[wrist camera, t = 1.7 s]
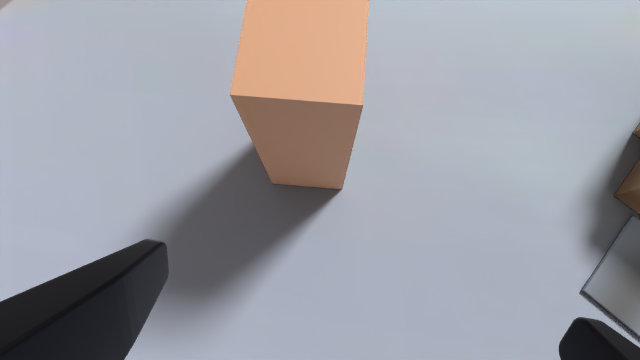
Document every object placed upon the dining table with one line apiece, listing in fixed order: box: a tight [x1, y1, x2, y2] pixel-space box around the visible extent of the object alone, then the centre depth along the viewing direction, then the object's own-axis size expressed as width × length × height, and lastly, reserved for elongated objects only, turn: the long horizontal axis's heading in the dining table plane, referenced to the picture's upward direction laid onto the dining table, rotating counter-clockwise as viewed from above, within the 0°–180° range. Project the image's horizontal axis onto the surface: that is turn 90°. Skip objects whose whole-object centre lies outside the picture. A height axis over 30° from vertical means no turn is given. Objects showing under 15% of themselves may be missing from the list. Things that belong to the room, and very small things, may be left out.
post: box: [230, 0, 369, 189], centre depth 17 cm, size 4×4×11 cm
